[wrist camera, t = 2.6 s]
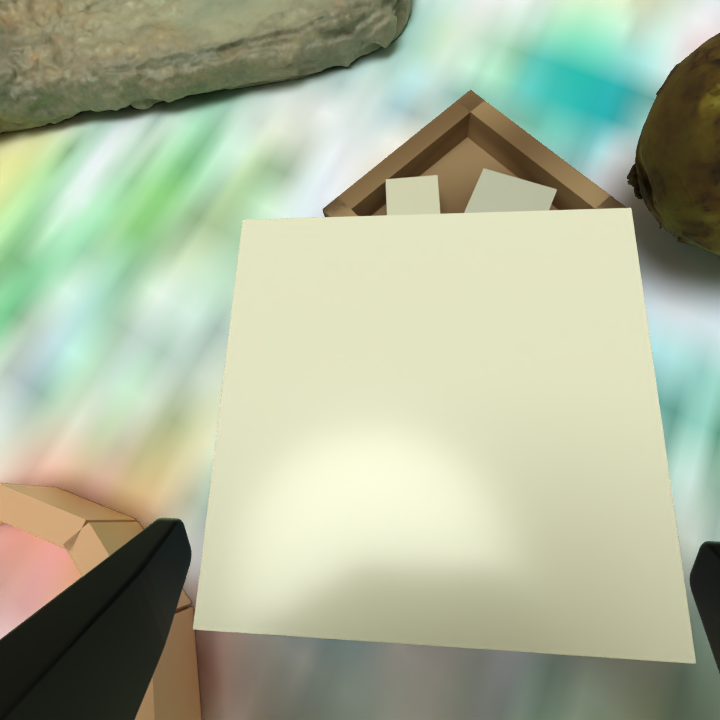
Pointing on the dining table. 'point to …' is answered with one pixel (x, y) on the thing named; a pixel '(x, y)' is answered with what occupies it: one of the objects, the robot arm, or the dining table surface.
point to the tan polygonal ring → (87, 549)
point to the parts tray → (470, 164)
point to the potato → (684, 151)
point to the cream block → (412, 195)
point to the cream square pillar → (444, 439)
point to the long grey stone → (172, 49)
